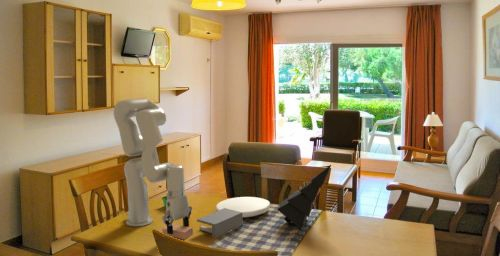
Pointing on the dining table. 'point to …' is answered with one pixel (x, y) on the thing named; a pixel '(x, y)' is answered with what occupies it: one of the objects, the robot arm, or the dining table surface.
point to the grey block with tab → (221, 222)
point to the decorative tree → (302, 200)
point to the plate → (245, 205)
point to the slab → (179, 231)
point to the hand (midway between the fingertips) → (178, 230)
